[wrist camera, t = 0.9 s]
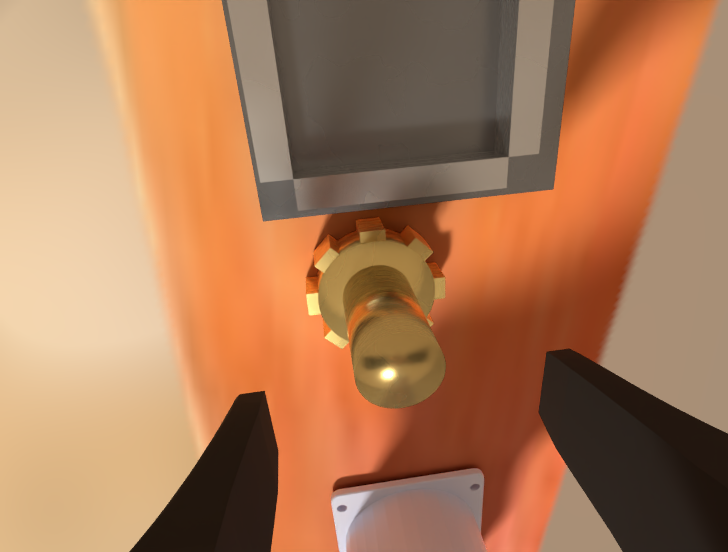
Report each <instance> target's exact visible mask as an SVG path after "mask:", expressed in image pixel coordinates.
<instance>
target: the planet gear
mask: <svg viewBox="0 0 728 552" xmlns="http://www.w3.org/2000/svg"><path fill="white" fill-rule="evenodd" d="M356 230H357V231H353V232H351V233H349V234H347V235H345V236H343V237H342V238H340V239H339V240H338V241H337V240H336V239H335V238H333V237H332V236H331V235H329V234H328V235H327V236H326V237H325V239H324V240H323V241H322V242H321V243H320V245H319V246H318V247H317V248H316V249H315V250H314V266H315V267H316V268H318V269H319V270H318V276H316V277H308V278H306V297H307V303H308V310H309V315H316V314H321V315H322V317H323V325H324V338H326V339H327V340H329V341H330V342H332V343H333V344H335V345H337V346H338V347H340V348H341V349H343V348H344V347H345V346H346V345H347V344H348V343H349V344H350V351H351V357H352V364H353V370H354V377H355V382H356V386H357V388H358V390H359V392H360V393H361V394H362V396H363V397H364V398H365V399H366V400H368V401H369V402H371V403H373V404H375V405H377V406H380V407H385V408H405V407H409V406H412V405H415V404H418V403H420V402H422V401H424V400H425V399H427V398H428V397H429V396H431V395H432V394H433V393H434V392H435V391H436V390H437V388H438V387H439V386H440V384H441V382H442V381H443V378H444V375H445V371H446V361H445V357H444V355H443V352H442V350H441V348H440V346H439V344H438V342H437V340H436V338H435V336H434V334H433V331H432V329H431V326H432V325H433V324H434V322H433V320H432V318H431V316H430V314H429V312H430V310H431V308H432V305H433V302H434V299H442V298H445V276H444V275H443V273H442V272H441V270H440V269H439V267H438V265H437V264H436V262H432V263H426V262H425V261H426V260H427V258H428V257H429V256H430V255H431V254H432V253H433V251H432V249H431V248H430V246H429V245H428V243H427V242H426V240H425V239H424V238H423V237H422V236H421V235H419V234H418V233H417V232H416V231H414V230H413V229H412V228H411V227H410V226H408V225H407V226H406V227H405V228H404V229H403V231H402V232H401V233H398V232H396V231H393V230H390V229H385V228H384V226H383V224H382V222H381V220H380V218H379V217H375V218H366V219H357V220H356Z"/></svg>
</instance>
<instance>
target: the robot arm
mask: <svg viewBox="0 0 728 552" xmlns="http://www.w3.org/2000/svg"><path fill="white" fill-rule="evenodd" d="M539 414H540V416H541V419H542V421H543V423H544V425H545V427H546V429H547V431H548V433H549V435H550V437H551V439H552V441H553V443H554V445H555V447H556V449H557V451H558V452H559V454H560V455H561V457H562V458H563V460H564V462H565V463H566V465H567V466H568V468H569V469H570V471H571V472H572V474H573V475H574V477H575V478H576V480H577V481H578V483H579V485H580V486H581V487H582V489H583V491H584V492H585V493H586V495H587V497H588V498H589V500H590V501H591V503H592V504H593V506H594V507H595V509H596V510H597V512H598V513H599V515H600V516H601V518H602V519H603V521H604V522H605V524H606V525H607V527H608V528H609V530H610V531H611V533H612V535H613V536H614V538H615V540H616V541H617V543H618V545H619V546H620V548H621V550H622V551H623V552H728V434H727V433H725V432H723V431H721V430H719V429H717V428H715V427H713V426H711V425H709V424H707V423H705V422H702V421H701V420H699V419H697V418H695V417H693V416H690V415H689V414H687V413H685V412H683V411H681V410H679V409H677V408H675V407H673V406H671V405H669V404H667V403H666V402H664V401H662V400H660V399H658V398H656V397H654V396H653V395H651V394H649V393H647V392H646V391H644V390H642V389H640V388H638V387H637V386H635V385H633V384H631V383H630V382H628V381H626V380H624V379H623V378H621V377H619V376H618V375H616V374H614V373H612V372H611V371H609V370H607V369H605V368H603V367H602V366H600V365H598V364H597V363H595V362H593V361H591V360H590V359H588V358H586V357H584V356H582V355H581V354H579V353H577V352H575V351H573V350H571V349H564V350H556V351H549V352H547V353H546V360H545V368H544V375H543V383H542V390H541V398H540V405H539ZM483 491H484V475H483V473H482V471H481V470H480V469H478V468H471V469H465V470H458V471H452V472H446V473H439V474H433V475H426V476H420V477H414V478H407V479H401V480H395V481H388V482H382V483H375V484H369V485H363V486H356V487H350V488H343V489H338V490H336V491H334V492H333V493H332V494H331V504H332V510H333V516H334V523H335V529H336V535H337V541H338V547H339V552H487V549H486V546H485V544H484V541H483V538H482V536H481V522H482V507H483ZM277 495H278V448H277V443H276V439H275V434H274V430H273V426H272V421H271V417H270V412H269V408H268V404H267V399H266V395H265V391H261V392H253V393H246V394H240V395H239V396H238V397H237V398H236V399H235V401H234V403H233V405H232V407H231V408H230V410H229V412H228V414H227V415H226V417H225V419H224V420H223V422H222V424H221V426H220V427H219V429H218V430H217V432H216V434H215V435H214V437H213V439H212V440H211V442H210V443H209V445H208V447H207V448H206V450H205V451H204V453H203V454H202V456H201V457H200V459H199V460H198V462H197V464H196V465H195V467H194V468H193V470H192V471H191V472H190V474H189V475H188V477H187V478H186V480H185V481H184V482H183V484H182V485H181V487H180V488H179V489H178V491H177V492H176V493H175V495H174V496H173V498H172V499H171V500H170V502H169V503H168V504H167V506H166V507H165V508H164V510H163V511H162V512H161V514H160V515H159V516H158V518H157V519H156V520H155V522H154V523H153V524H152V525H151V526H150V528H149V529H148V530H147V531H146V533H145V534H144V535H143V536H142V537H141V539H140V540H139V541H138V542H137V544H136V545H135V546H134V547H133V548H132V549H131V550H130V552H271V544H272V536H273V528H274V520H275V512H276V503H277Z"/></svg>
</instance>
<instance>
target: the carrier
mask: <svg viewBox="0 0 728 552" xmlns="http://www.w3.org/2000/svg"><path fill="white" fill-rule="evenodd" d="M222 4H223V10H224V15H225V20H226V26H227V31H228V36H229V42H230V47H231V52H232V58H233V63H234V68H235V74H236V79H237V84H238V90H239V95H240V100H241V106H242V111H243V116H244V122H245V127H246V132H247V138H248V143H249V149H250V154H251V159H252V165H253V170H254V175H255V181H256V186H257V191H258V197H259V202H260V207H261V213H262V218H263V221H271V220H280V219H289V218H298V217H307V216H316V215H325V214H334V213H343V212H352V211H361V210H370V209H380V208H389V207H398V206H407V205H416V204H425V203H434V202H443V201H452V200H461V199H470V198H479V197H488V196H497V195H506V194H515V193H524V192H534V191H543V190H552V189H554V180H555V172H556V163H557V154H558V146H559V137H560V128H561V120H562V111H563V103H564V94H565V85H566V77H567V68H568V60H569V51H570V42H571V34H572V25H573V17H574V8H575V0H222Z"/></svg>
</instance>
